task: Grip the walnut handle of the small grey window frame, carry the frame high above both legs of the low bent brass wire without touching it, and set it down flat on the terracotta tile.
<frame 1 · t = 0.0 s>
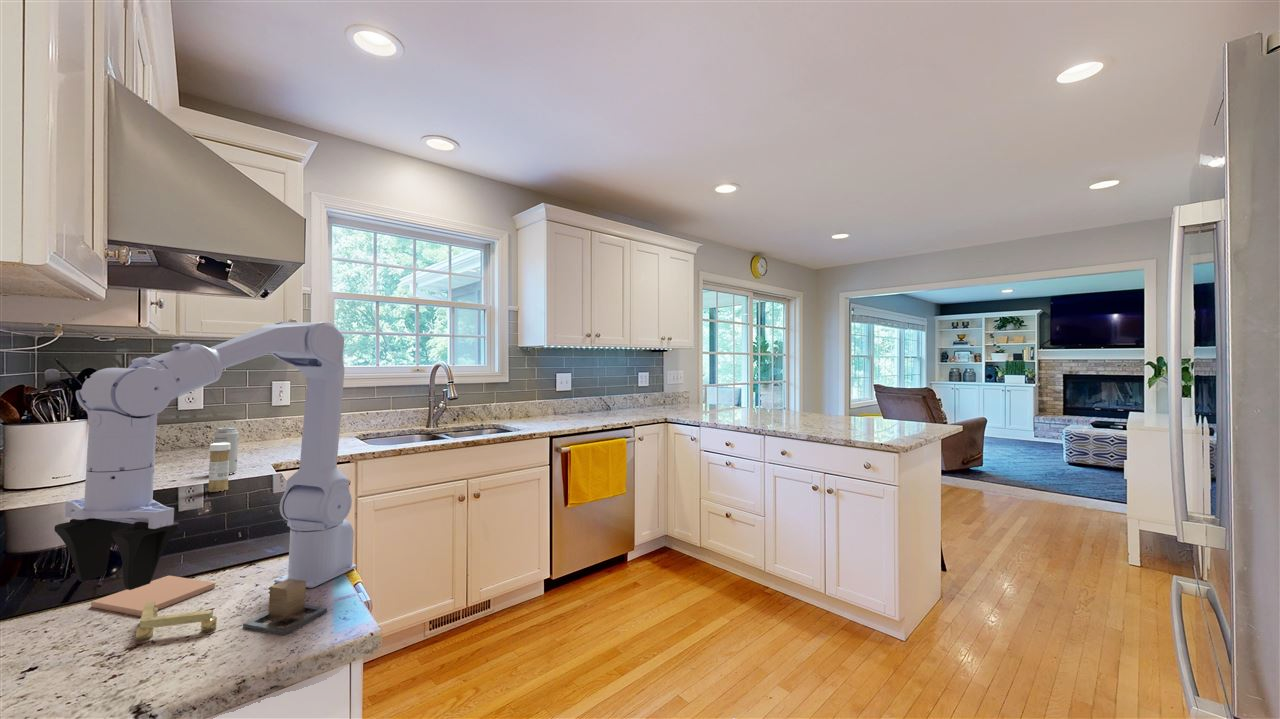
hand: (114, 582, 60), 10 cm above the countertop, tool pointing down, fingers open, 7 cm apart
energy drink can: (224, 474, 164), on the countertop
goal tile: (155, 596, 78), on the countertop
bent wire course: (144, 637, 66), on the countertop
sprinkles bottle: (217, 491, 143), on the countertop
grey window frame: (286, 619, 72), on the countertop
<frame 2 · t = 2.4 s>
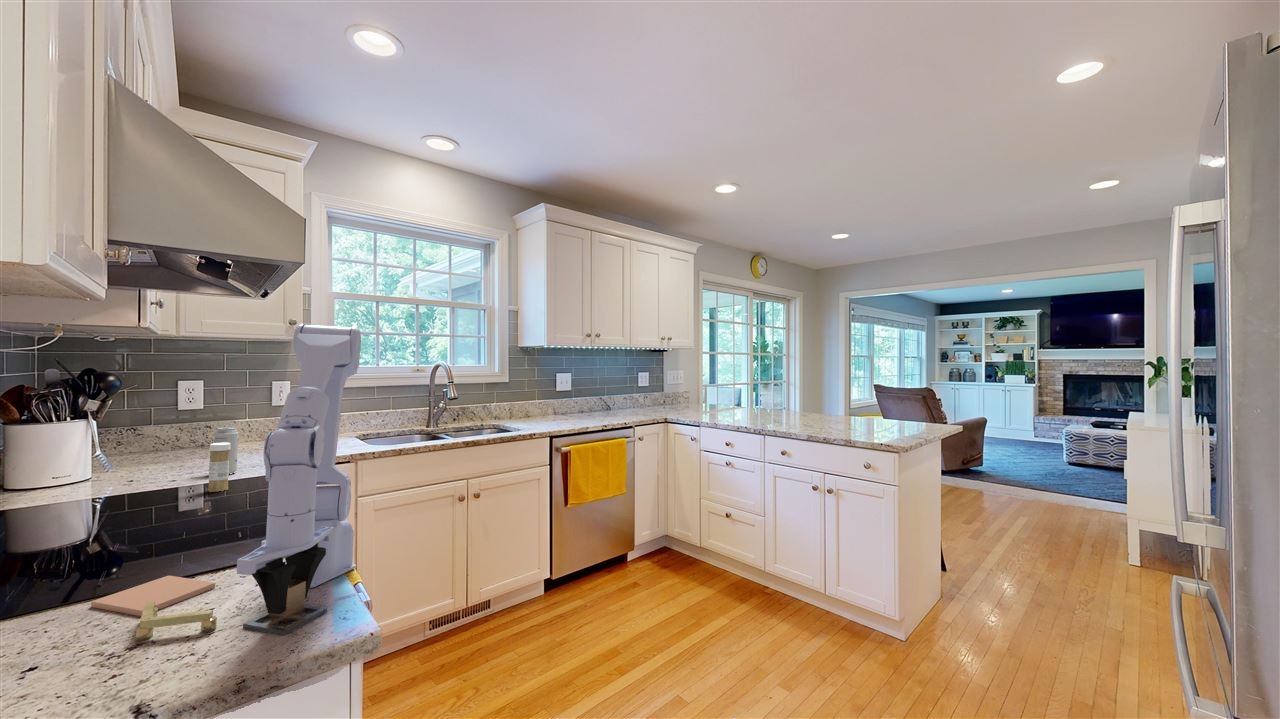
hand: (287, 606, 72), 2 cm above the countertop, tool pointing down, fingers closed on grey window frame, 3 cm apart
grey window frame: (286, 619, 72), on the countertop, touching gripper
everything else where it was.
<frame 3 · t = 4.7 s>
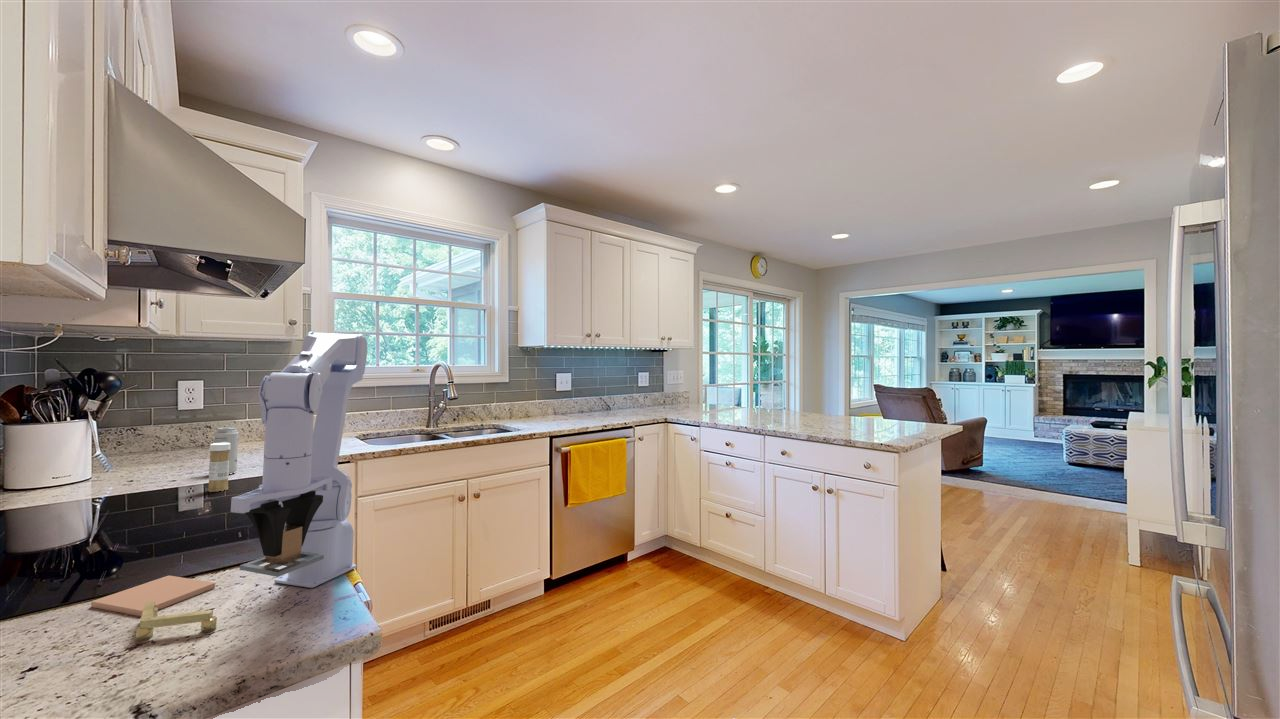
hand: (283, 550, 72), 10 cm above the countertop, tool pointing down, fingers closed on grey window frame, 3 cm apart
grey window frame: (283, 564, 72), point 8 cm above the countertop, touching gripper
everything else where it was.
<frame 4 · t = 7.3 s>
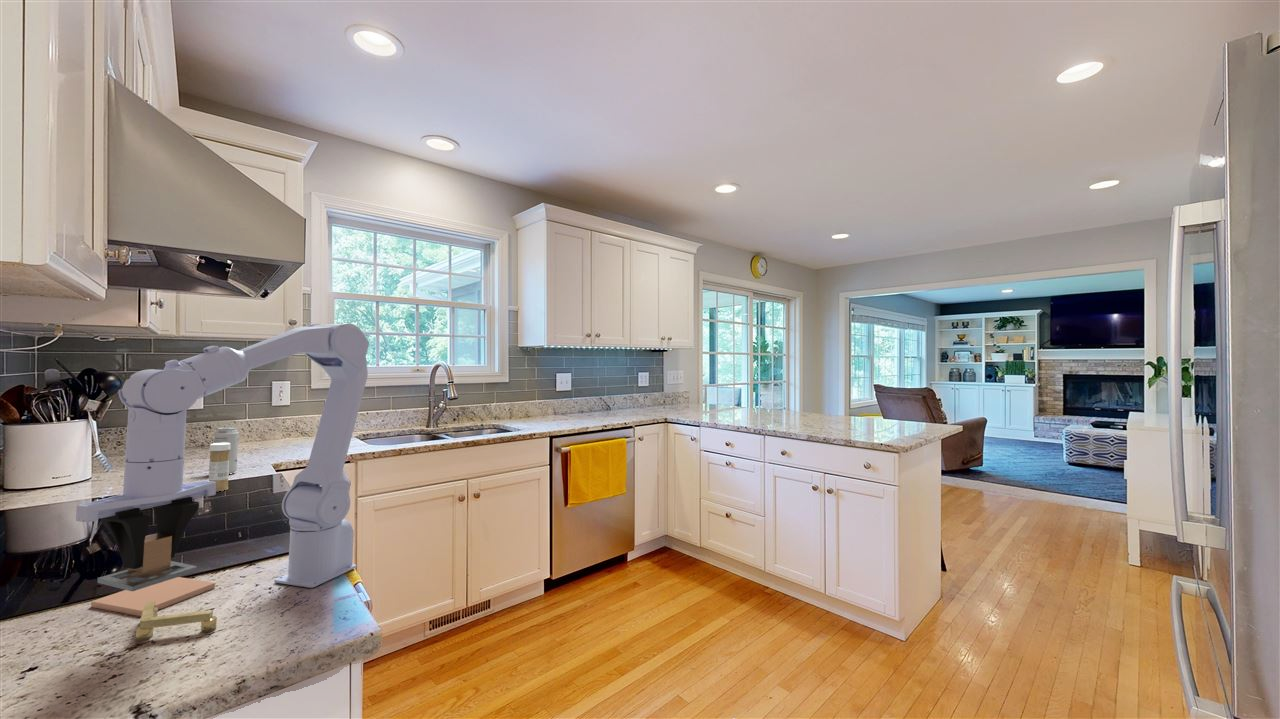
hand: (149, 562, 67), 10 cm above the countertop, tool pointing down, fingers closed on grey window frame, 3 cm apart
grey window frame: (148, 576, 66), point 8 cm above the countertop, touching gripper
everything else where it was.
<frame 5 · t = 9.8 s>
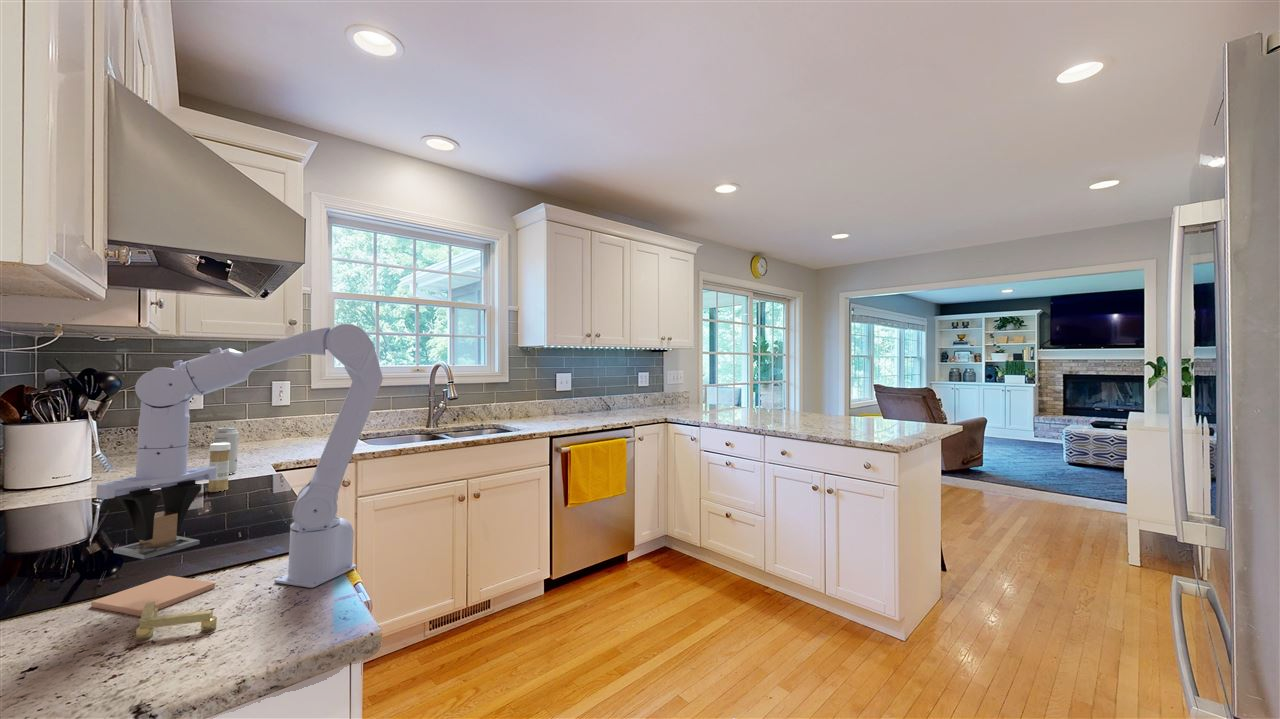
hand: (158, 535, 77), 10 cm above the countertop, tool pointing down, fingers closed on grey window frame, 3 cm apart
grey window frame: (157, 548, 77), point 8 cm above the countertop, touching gripper
everything else where it was.
when the fingers open (4 cm above the countertop, at t = 12.1 s): grey window frame drops 2 cm, resting on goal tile.
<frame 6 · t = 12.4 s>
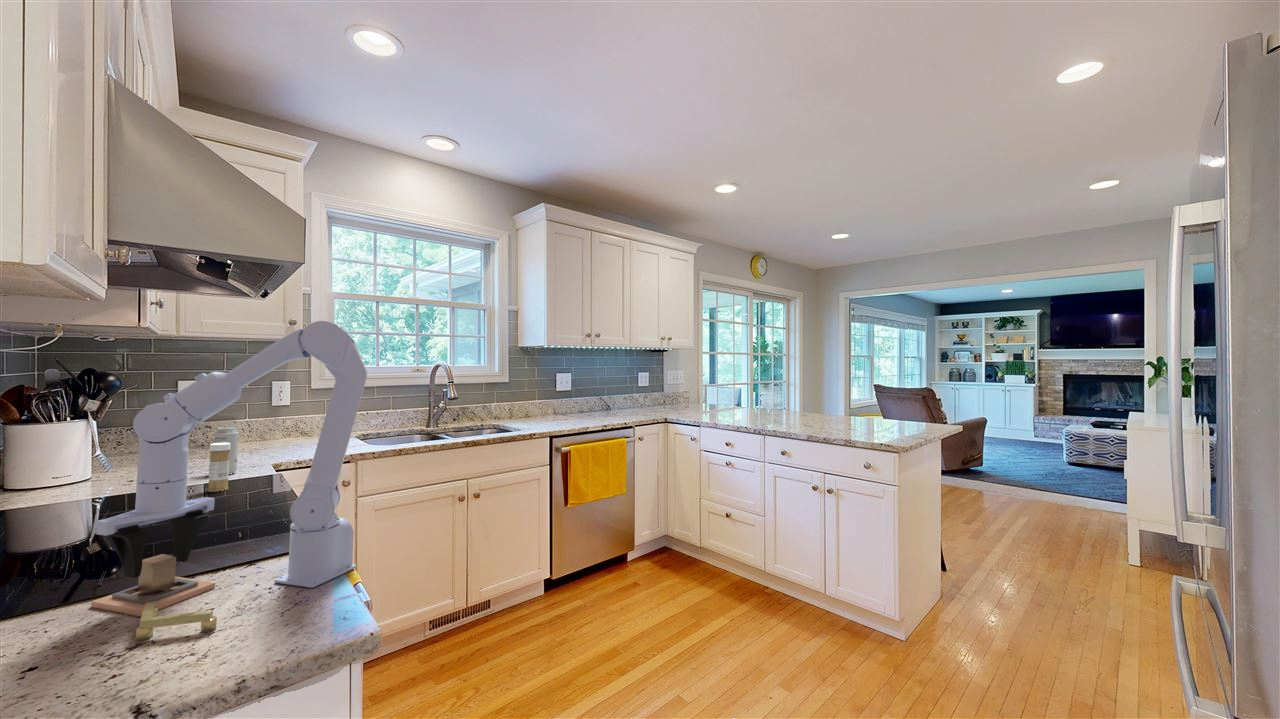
hand: (157, 568, 78), 4 cm above the countertop, tool pointing down, fingers open, 6 cm apart
grey window frame: (156, 591, 78), point 1 cm above the countertop, touching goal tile
everything else where it was.
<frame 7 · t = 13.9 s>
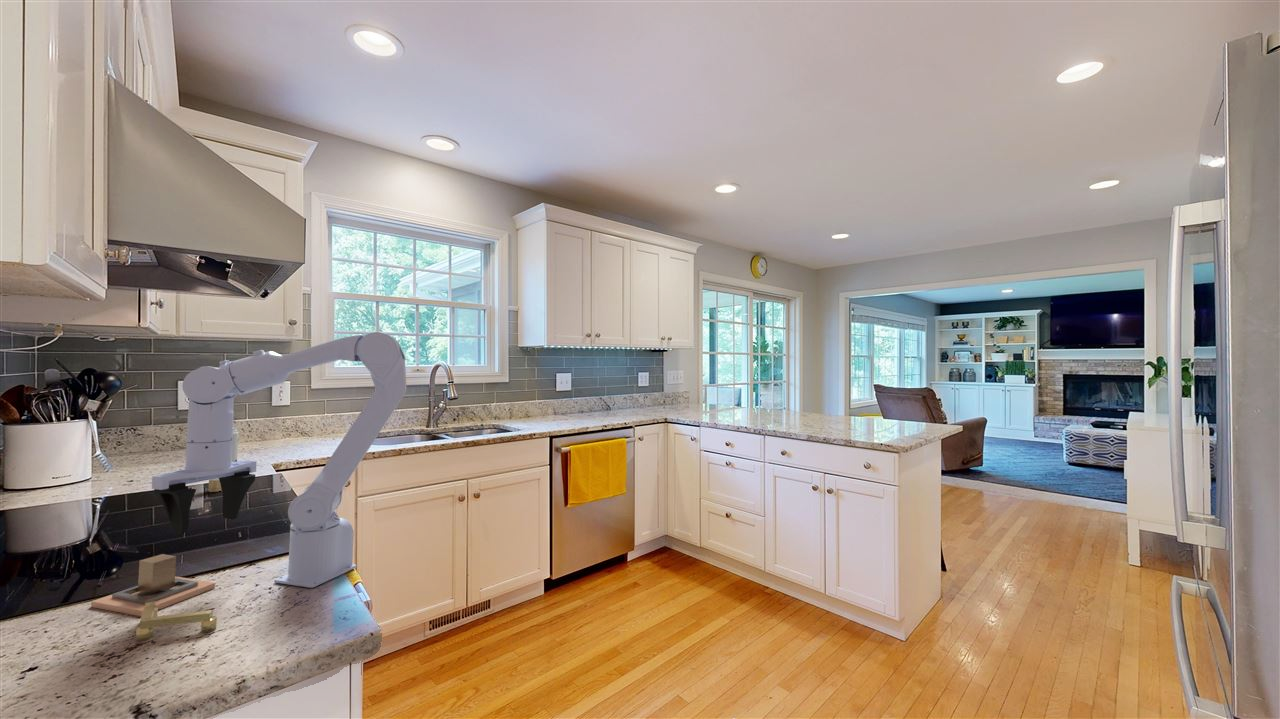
hand: (206, 524, 81), 10 cm above the countertop, tool pointing down, fingers open, 7 cm apart
nothing on the countertop moved.
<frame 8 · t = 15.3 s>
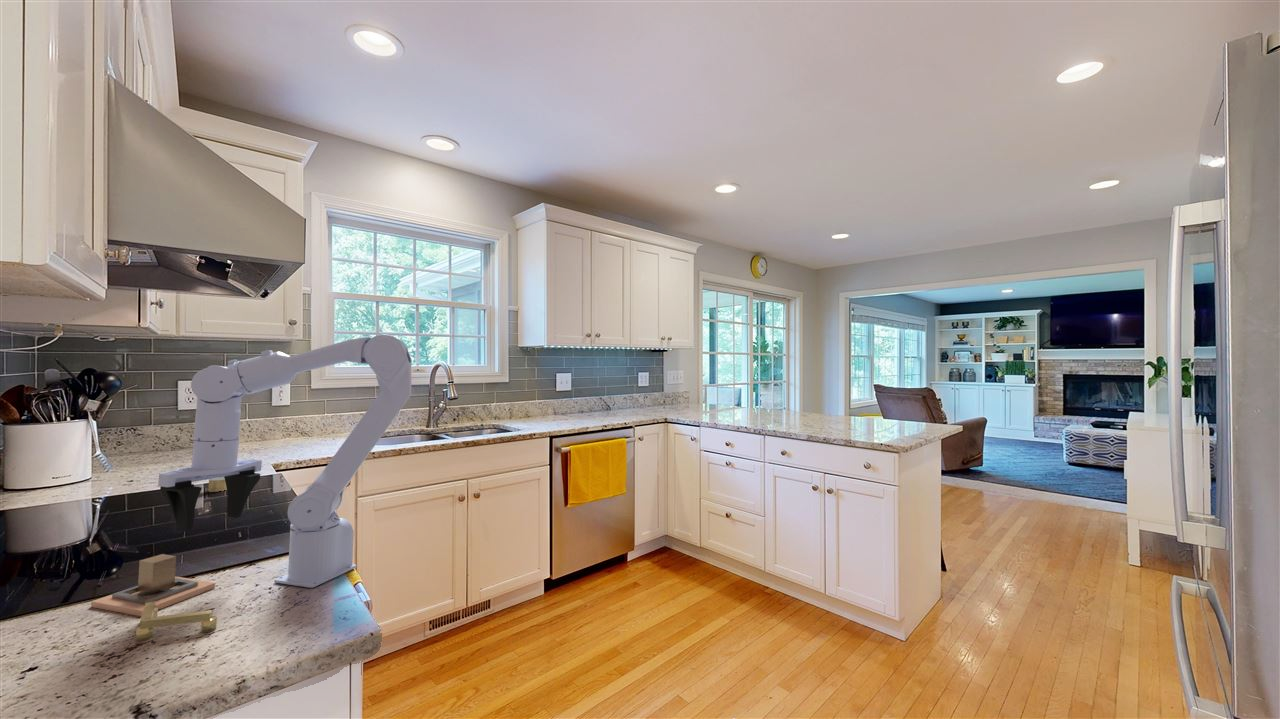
hand: (210, 522, 82), 10 cm above the countertop, tool pointing down, fingers open, 7 cm apart
nothing on the countertop moved.
at the end: grey window frame 0.0 cm off-centre on the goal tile, point 0.8 cm above the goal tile's base; grey window frame tilted 0°; grey window frame touching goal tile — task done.
